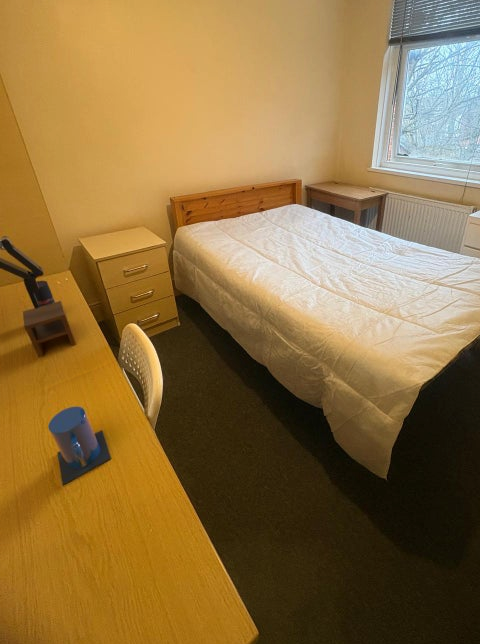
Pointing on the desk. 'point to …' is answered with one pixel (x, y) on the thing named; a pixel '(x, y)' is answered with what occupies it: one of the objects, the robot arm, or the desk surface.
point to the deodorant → (44, 294)
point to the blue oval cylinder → (74, 437)
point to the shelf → (47, 325)
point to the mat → (72, 474)
